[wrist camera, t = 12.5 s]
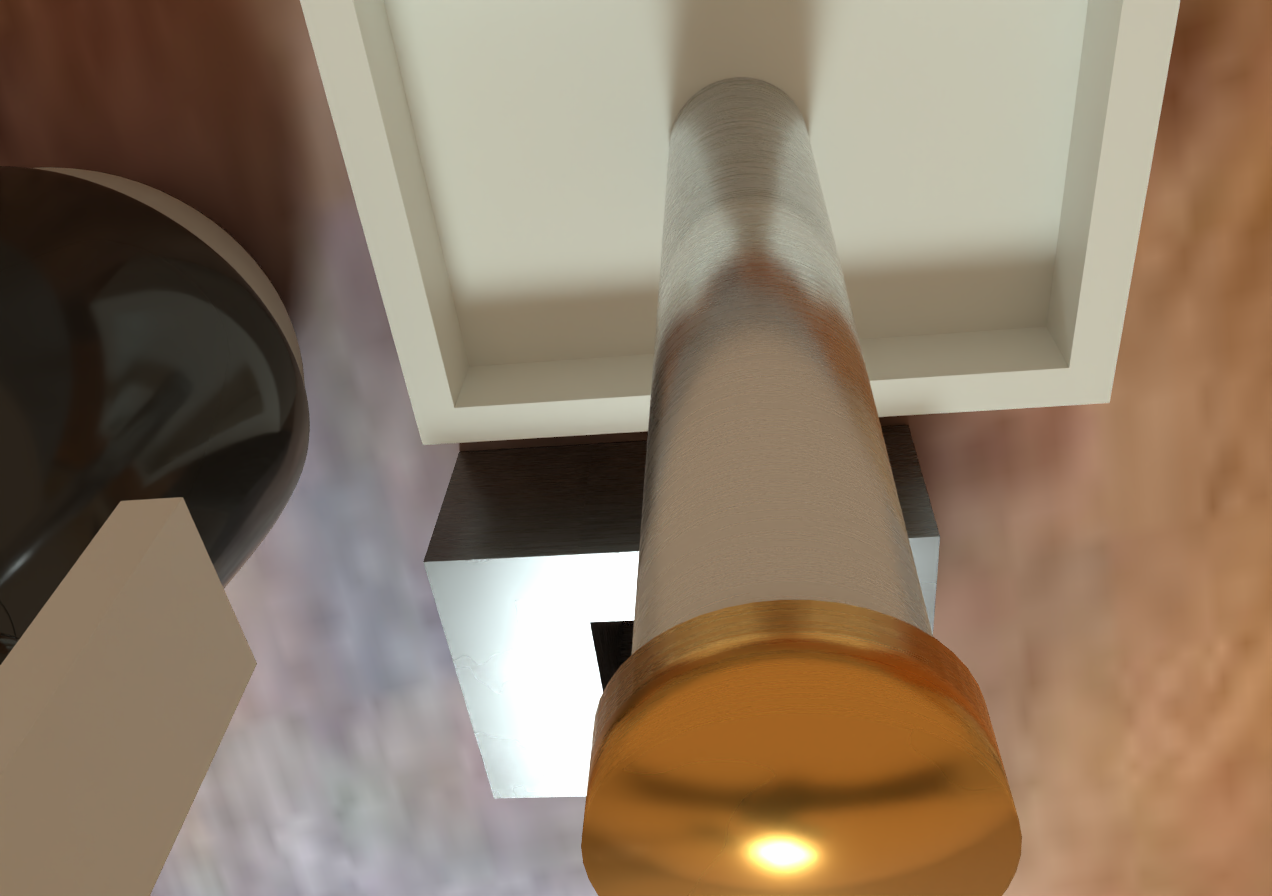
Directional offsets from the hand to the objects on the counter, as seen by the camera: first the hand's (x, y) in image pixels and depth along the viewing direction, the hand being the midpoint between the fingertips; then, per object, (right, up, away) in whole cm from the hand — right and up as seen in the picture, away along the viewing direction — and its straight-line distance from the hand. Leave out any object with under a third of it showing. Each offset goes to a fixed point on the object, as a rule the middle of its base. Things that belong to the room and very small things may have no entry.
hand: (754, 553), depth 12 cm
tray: (+1, +8, +11) cm, 14 cm away
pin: (+1, +8, +11) cm, 13 cm away
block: (0, -2, +18) cm, 19 cm away
